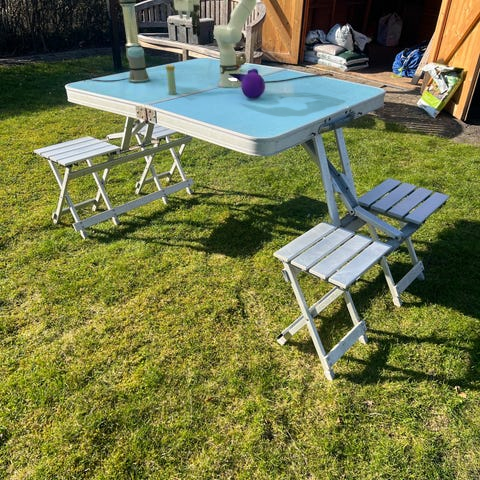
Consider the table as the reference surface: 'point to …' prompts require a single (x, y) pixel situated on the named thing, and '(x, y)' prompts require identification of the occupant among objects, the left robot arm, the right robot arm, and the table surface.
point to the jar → (171, 82)
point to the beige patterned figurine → (239, 59)
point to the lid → (170, 67)
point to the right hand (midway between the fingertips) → (184, 19)
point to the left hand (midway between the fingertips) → (196, 35)
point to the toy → (251, 83)
